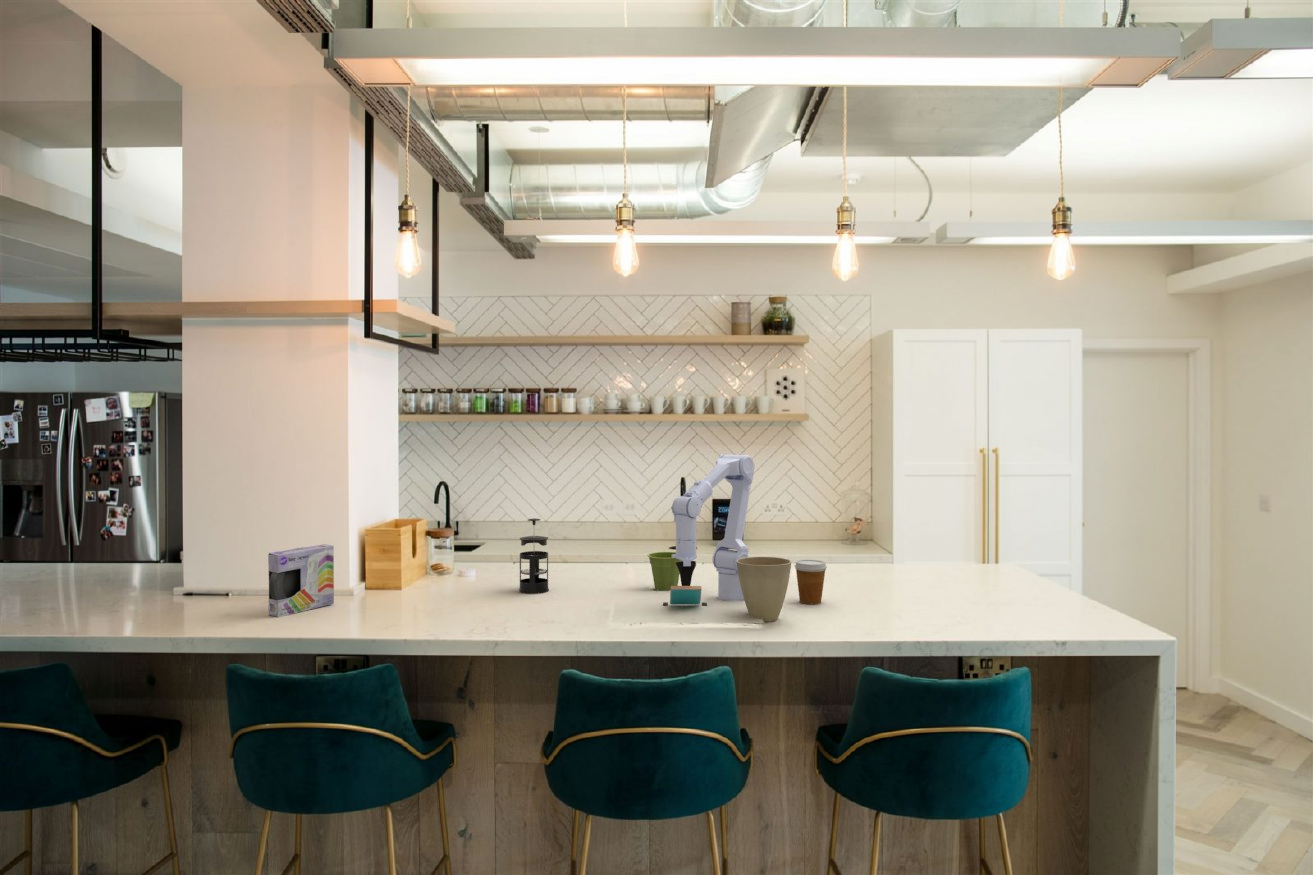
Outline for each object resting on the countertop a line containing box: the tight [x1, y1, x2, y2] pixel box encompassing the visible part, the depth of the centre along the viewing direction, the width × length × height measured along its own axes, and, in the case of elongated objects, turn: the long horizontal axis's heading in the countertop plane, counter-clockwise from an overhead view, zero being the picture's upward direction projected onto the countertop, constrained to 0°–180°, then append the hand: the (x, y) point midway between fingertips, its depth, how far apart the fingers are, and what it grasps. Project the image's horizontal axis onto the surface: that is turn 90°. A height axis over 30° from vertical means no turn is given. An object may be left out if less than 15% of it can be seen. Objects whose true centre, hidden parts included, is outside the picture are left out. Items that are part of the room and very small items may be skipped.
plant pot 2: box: [736, 556, 792, 623], centre depth 220 cm, size 15×15×16 cm
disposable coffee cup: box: [794, 559, 828, 605], centre depth 241 cm, size 10×10×12 cm
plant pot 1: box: [647, 551, 682, 592], centre depth 259 cm, size 12×12×11 cm
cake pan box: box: [267, 543, 335, 618], centre depth 228 cm, size 19×5×18 cm, turn 149°
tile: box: [669, 585, 702, 606], centre depth 228 cm, size 9×1×9 cm
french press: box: [518, 517, 550, 595], centre depth 257 cm, size 12×9×23 cm
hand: (685, 587), depth 226 cm, fingers closed
